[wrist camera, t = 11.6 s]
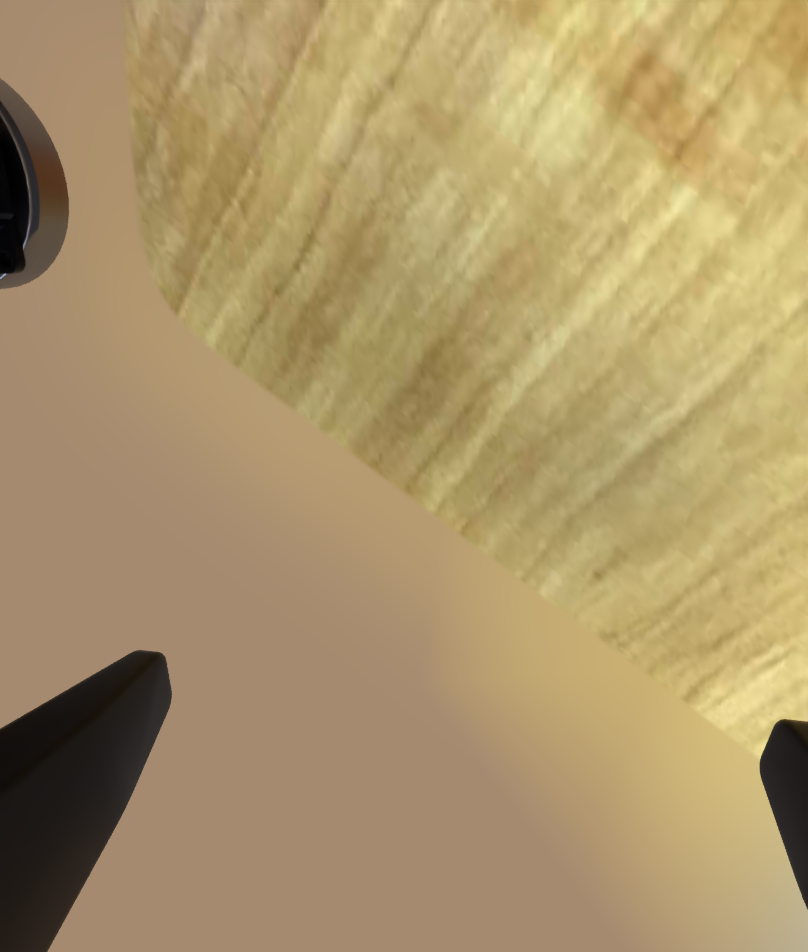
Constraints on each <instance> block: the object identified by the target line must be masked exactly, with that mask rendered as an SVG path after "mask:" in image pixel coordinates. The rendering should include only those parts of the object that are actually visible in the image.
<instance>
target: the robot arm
mask: <svg viewBox="0 0 808 952" xmlns="http://www.w3.org/2000/svg"><path fill="white" fill-rule="evenodd" d="M7 254H8V255H9V256H10V258H11V265H10V264H9V263H8V261H7ZM25 266H26V260H25V255H24V251H23V246H22V242H21V237H20V233H19V228H18V224H17V219H16V215H15V210H14V206H13V202H12V197H11V193H10V188H9V184H8V179H7V175H6V170H5V166H4V161H3V157H2V152H1V148H0V274H16V273H21V272H22V271H23V270H24V269H25ZM171 698H172V691H171V685H170V680H169V674H168V669H167V662H166V659H165V656H164V655H163V654H162V653H160V652H152V651H143V650H138V651H134V652H132V653H130V654H128V655H126V656H125V657H123V658H121V659H120V660H118V661H117V662H114V663H113V664H111V665H109V666H108V667H106V668H104V669H102V670H101V671H99V672H97V673H96V674H94V675H92V676H90V677H89V678H87V679H85V680H83V681H82V682H80V683H78V684H77V685H75V686H73V687H71V688H70V689H68V690H66V691H65V692H63V693H61V694H59V695H58V696H56V697H54V698H52V699H51V700H49V701H48V702H46V703H44V704H42V705H40V706H39V707H37V708H35V709H34V710H32V711H30V712H28V713H27V714H25V715H23V716H22V717H20V718H18V719H16V720H15V721H13V722H11V723H9V724H8V725H6V726H4V727H3V728H1V729H0V952H47V951H48V949H49V948H50V946H51V944H52V942H53V940H54V938H55V937H56V935H57V933H58V931H59V929H60V928H61V926H62V924H63V922H64V920H65V918H66V917H67V915H68V913H69V911H70V909H71V908H72V906H73V904H74V902H75V900H76V898H77V897H78V895H79V893H80V891H81V889H82V887H83V886H84V884H85V882H86V880H87V878H88V877H89V875H90V873H91V871H92V869H93V867H94V866H95V864H96V862H97V860H98V858H99V857H100V854H101V853H102V851H103V849H104V847H105V845H106V844H107V842H108V840H109V838H110V836H111V835H112V833H113V831H114V829H115V827H116V825H117V824H118V822H119V820H120V818H121V816H122V814H123V812H124V810H125V808H126V806H127V804H128V802H129V799H130V797H131V795H132V793H133V791H134V788H135V786H136V784H137V781H138V779H139V777H140V774H141V772H142V770H143V768H144V765H145V763H146V761H147V758H148V756H149V754H150V752H151V749H152V747H153V744H154V742H155V740H156V737H157V735H158V733H159V731H160V728H161V726H162V724H163V721H164V719H165V717H166V715H167V712H168V710H169V707H170V704H171ZM760 775H761V779H762V782H763V785H764V787H765V791H766V794H767V796H768V799H769V802H770V805H771V808H772V811H773V814H774V817H775V820H776V823H777V826H778V829H779V831H780V834H781V837H782V840H783V843H784V846H785V849H786V852H787V855H788V858H789V861H790V864H791V866H792V869H793V872H794V875H795V878H796V881H797V884H798V886H799V889H800V891H801V894H802V897H803V900H804V902H805V904H806V907H807V909H808V722H806V721H797V720H787V719H783V720H780V721H778V722H777V723H776V724H775V725H774V728H773V730H772V732H771V735H770V737H769V739H768V742H767V744H766V747H765V749H764V751H763V754H762V756H761V759H760Z"/></svg>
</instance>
